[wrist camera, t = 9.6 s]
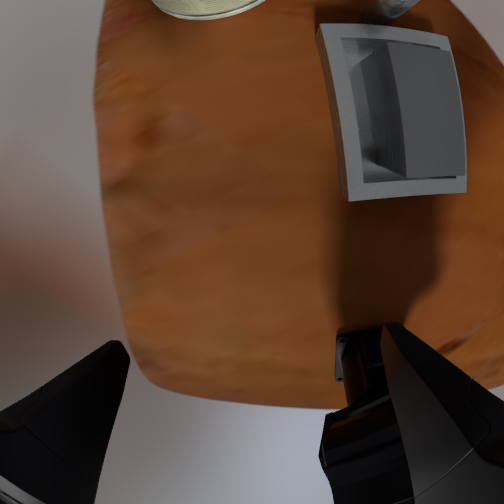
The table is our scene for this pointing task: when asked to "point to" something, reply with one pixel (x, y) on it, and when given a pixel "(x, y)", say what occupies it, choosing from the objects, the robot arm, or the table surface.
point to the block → (414, 110)
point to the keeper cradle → (356, 106)
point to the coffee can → (205, 8)
